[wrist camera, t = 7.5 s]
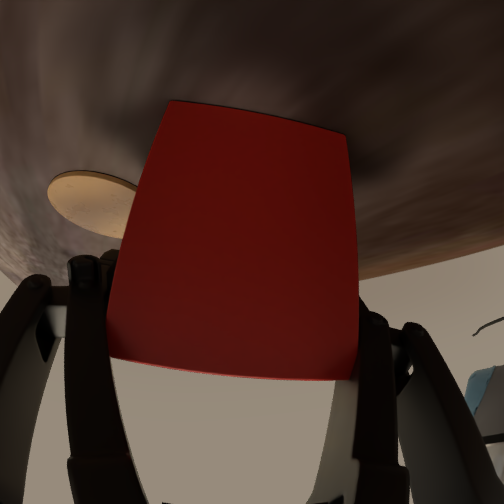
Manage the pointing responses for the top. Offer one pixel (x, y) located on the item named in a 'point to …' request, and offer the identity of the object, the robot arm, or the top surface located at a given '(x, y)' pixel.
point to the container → (239, 250)
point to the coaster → (93, 201)
